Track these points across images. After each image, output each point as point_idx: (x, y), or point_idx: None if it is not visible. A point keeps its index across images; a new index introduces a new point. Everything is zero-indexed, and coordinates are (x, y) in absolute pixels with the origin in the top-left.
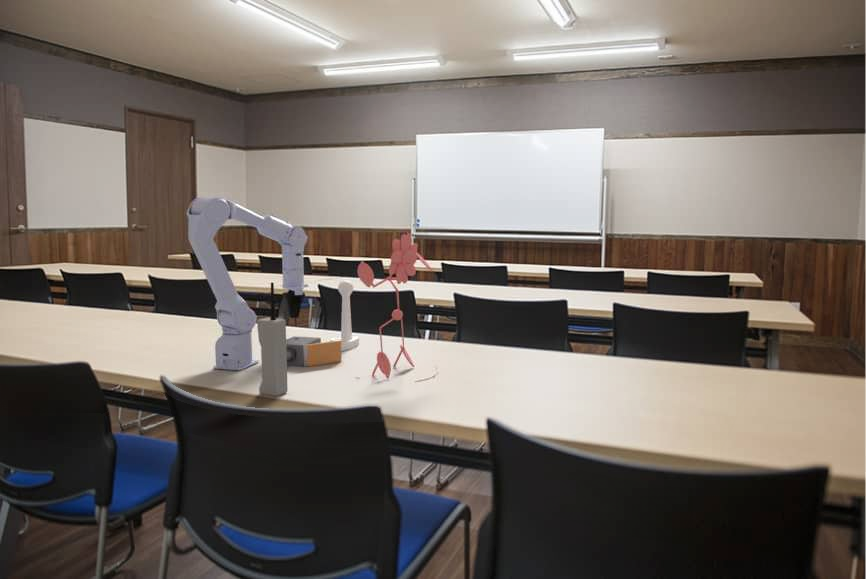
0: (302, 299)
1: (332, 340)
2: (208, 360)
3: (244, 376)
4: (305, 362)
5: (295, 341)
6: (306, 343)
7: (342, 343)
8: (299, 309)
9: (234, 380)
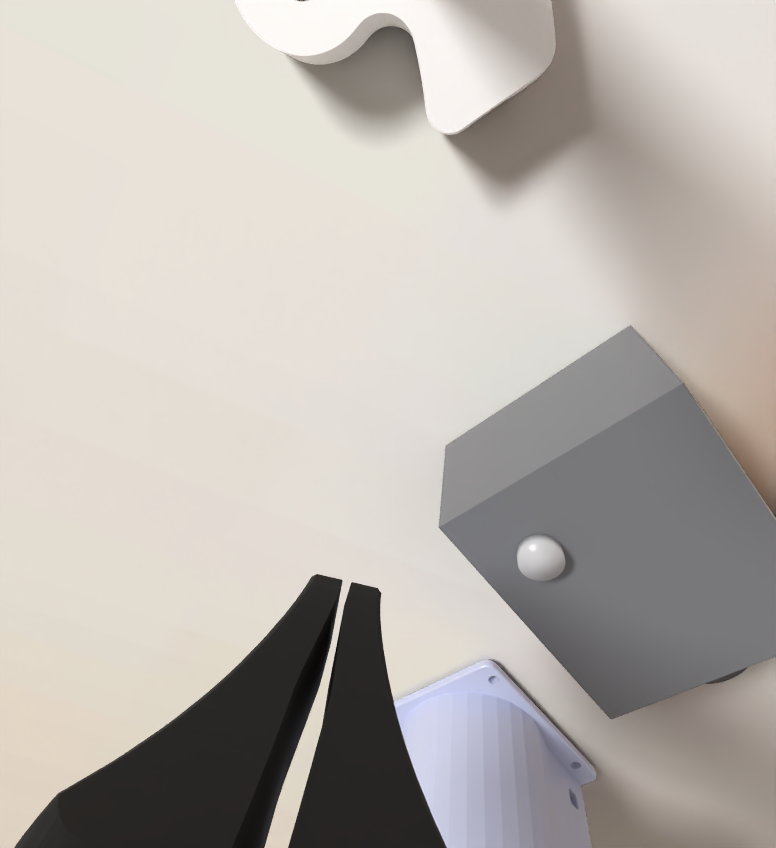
0: (439, 831)
1: (334, 46)
2: (298, 770)
3: (705, 786)
4: None
5: (651, 607)
6: None
7: (546, 17)
8: (386, 670)
9: (737, 830)
